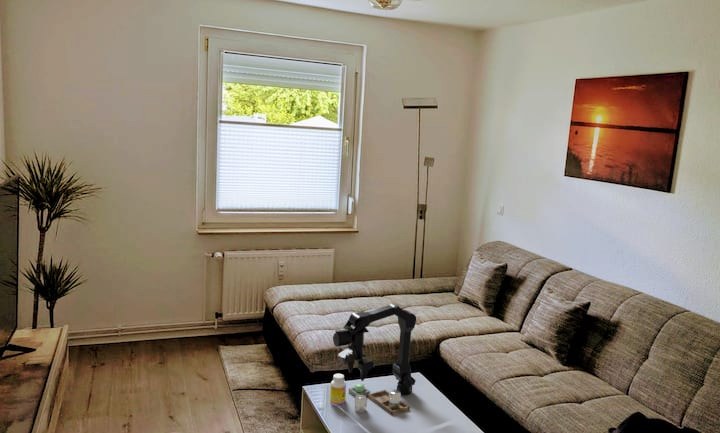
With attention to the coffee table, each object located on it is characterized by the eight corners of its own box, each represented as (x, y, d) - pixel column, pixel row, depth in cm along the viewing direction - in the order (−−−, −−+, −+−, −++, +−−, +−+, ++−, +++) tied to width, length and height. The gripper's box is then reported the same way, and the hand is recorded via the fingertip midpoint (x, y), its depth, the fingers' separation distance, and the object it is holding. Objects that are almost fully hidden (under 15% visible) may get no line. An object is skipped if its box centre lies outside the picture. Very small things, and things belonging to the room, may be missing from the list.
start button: (360, 389, 259) (360, 382, 258) (366, 393, 255) (366, 386, 255) (352, 391, 256) (352, 384, 256) (357, 395, 253) (358, 388, 252)
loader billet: (395, 403, 248) (396, 388, 246) (402, 408, 243) (403, 393, 242) (386, 406, 245) (386, 391, 244) (393, 411, 241) (393, 396, 240)
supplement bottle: (343, 407, 245) (344, 379, 243) (328, 405, 246) (329, 378, 244) (346, 400, 251) (347, 373, 249) (332, 398, 253) (333, 371, 251)
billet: (361, 409, 244) (362, 393, 243) (368, 414, 240) (369, 398, 239) (352, 411, 242) (352, 396, 241) (358, 416, 238) (359, 401, 237)
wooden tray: (384, 395, 258) (384, 389, 258) (409, 412, 243) (409, 406, 243) (367, 399, 253) (367, 394, 252) (391, 417, 238) (392, 411, 237)
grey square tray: (361, 391, 261) (361, 385, 260) (369, 397, 255) (370, 391, 255) (348, 394, 257) (348, 388, 257) (356, 401, 251) (357, 394, 251)
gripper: (329, 339, 246) (329, 373, 248) (353, 354, 230) (352, 389, 233) (351, 334, 252) (350, 367, 254) (375, 348, 237) (374, 383, 239)
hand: (356, 376), depth 245 cm, fingers open, 9 cm apart
